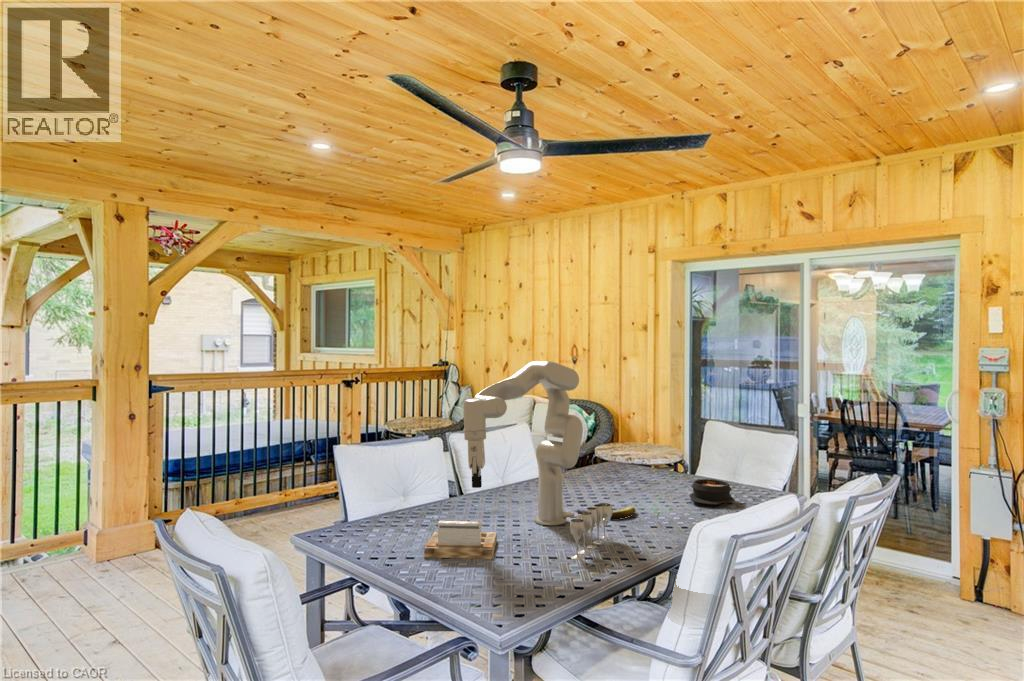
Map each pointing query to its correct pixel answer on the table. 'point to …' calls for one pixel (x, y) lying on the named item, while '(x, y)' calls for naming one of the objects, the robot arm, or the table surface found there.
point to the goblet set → (589, 525)
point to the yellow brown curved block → (623, 513)
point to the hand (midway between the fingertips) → (476, 486)
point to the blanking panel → (459, 534)
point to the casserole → (711, 492)
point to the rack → (462, 548)
